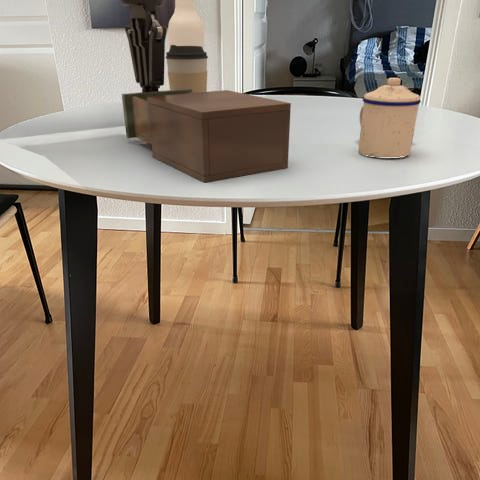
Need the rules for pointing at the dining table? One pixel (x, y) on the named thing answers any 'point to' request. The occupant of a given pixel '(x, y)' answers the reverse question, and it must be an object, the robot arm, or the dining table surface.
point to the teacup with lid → (388, 120)
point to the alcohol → (185, 25)
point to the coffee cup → (187, 68)
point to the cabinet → (219, 133)
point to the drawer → (141, 112)
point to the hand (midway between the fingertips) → (153, 124)
